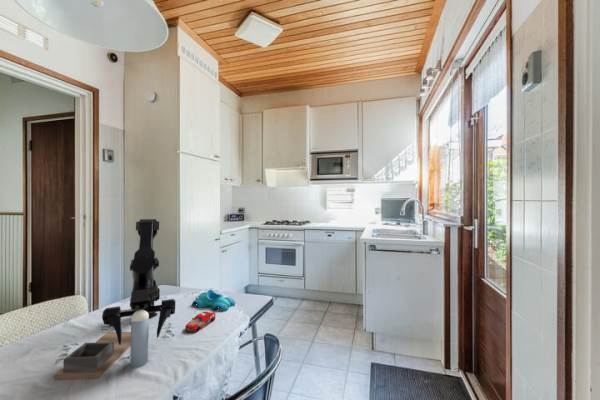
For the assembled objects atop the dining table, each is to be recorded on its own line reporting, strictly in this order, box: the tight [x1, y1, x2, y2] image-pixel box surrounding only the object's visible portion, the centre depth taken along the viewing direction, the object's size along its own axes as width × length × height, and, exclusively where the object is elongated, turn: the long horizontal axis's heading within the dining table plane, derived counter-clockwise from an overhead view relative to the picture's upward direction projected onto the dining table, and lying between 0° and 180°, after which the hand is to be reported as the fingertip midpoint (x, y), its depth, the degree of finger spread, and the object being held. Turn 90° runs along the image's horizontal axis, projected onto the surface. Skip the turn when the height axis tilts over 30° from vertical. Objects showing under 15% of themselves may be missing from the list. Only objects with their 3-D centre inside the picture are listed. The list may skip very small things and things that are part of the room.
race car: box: [184, 310, 216, 333], centre depth 100 cm, size 13×5×4 cm, turn 159°
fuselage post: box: [129, 310, 150, 368], centre depth 77 cm, size 4×4×15 cm
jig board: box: [53, 331, 131, 381], centre depth 80 cm, size 22×11×5 cm, turn 5°
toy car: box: [191, 289, 236, 312], centre depth 119 cm, size 11×18×7 cm, turn 72°
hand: (139, 340), depth 75 cm, fingers open, 9 cm apart
